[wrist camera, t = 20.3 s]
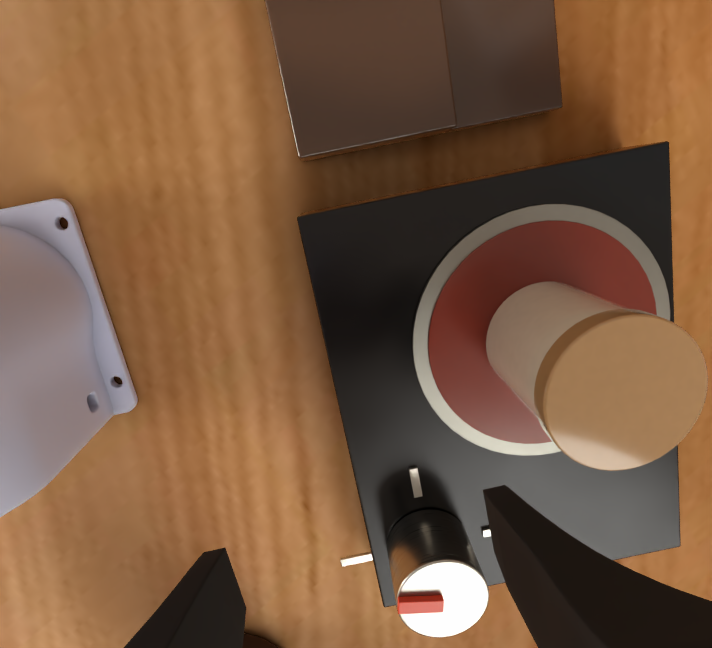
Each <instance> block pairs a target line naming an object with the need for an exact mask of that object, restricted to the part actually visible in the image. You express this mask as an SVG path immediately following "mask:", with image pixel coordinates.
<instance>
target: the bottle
mask: <svg viewBox="0 0 712 648" xmlns="http://www.w3.org/2000/svg"><path fill="white" fill-rule="evenodd" d="M242 648H278V647H277V646H275V645H273V644H272V643H270V642H268V641H266V640H264V639H263V638H261V637H257V636H253V635H249V634H244V637H243V646H242Z"/></svg>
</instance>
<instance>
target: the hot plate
mask: <svg viewBox="0 0 712 648" xmlns="http://www.w3.org/2000/svg"><path fill="white" fill-rule="evenodd" d="M541 204H568V205H575V206H582V207H586V208H589V209H593V210H596V211H599V212H601V213H603V214H606V215H608V216H610V217H612V218H614V219H616V220H617V221H619V222H620V223H622V224H623V225H625V226H626V227H628V228H629V229H630V230H631V231H632V232H634V233H635V234H636V235H637V236H638V237H639V238H640V239H641V240H642V241H643V243H644V244H645V245H646V246H647V247H648V249H649V250H650V251H651V253H652V255H653V256H654V258H655V260H656V261H657V263H658V265H659V267H660V269H661V272H662V274H663V277H664V279H665V283H666V287H667V291H668V295H669V304H670V321H672V322H674V302H673V267H672V232H671V197H670V162H669V142H667V141H666V142H659V143H652V144H645V145H638V146H631V147H624V148H618V149H614V150H609V151H604V152H599V153H594V154H589V155H584V156H579V157H574V158H569V159H564V160H560V161H555V162H550V163H545V164H540V165H535V166H530V167H525V168H520V169H515V170H510V171H506V172H501V173H496V174H491V175H486V176H481V177H476V178H471V179H466V180H461V181H457V182H452V183H447V184H442V185H437V186H432V187H427V188H422V189H417V190H412V191H407V192H403V193H398V194H393V195H388V196H383V197H378V198H373V199H368V200H363V201H358V202H353V203H349V204H344V205H339V206H334V207H329V208H324V209H319V210H314V211H309V212H304V213H301V214H300V215H299V216H298V217H297V221H298V225H299V230H300V234H301V238H302V243H303V247H304V252H305V256H306V261H307V265H308V270H309V274H310V279H311V283H312V288H313V292H314V297H315V301H316V306H317V310H318V315H319V319H320V324H321V328H322V333H323V337H324V342H325V346H326V350H327V355H328V359H329V364H330V368H331V373H332V377H333V382H334V386H335V391H336V395H337V400H338V404H339V409H340V413H341V418H342V422H343V427H344V431H345V436H346V440H347V445H348V449H349V454H350V458H351V462H352V467H353V471H354V476H355V480H356V485H357V489H358V494H359V498H360V503H361V507H362V512H363V516H364V521H365V525H366V530H367V534H368V539H369V543H370V548H371V552H372V553H371V552H366V553H361V554H356V555H351V556H346V557H341V558H340V560H341V564H342V566H347V565H352V564H357V563H362V562H367V561H371V560H373V561H374V566H375V570H376V574H377V579H378V583H379V588H380V592H381V597H382V601H383V606H384V607H389V606H394V605H396V600H395V594H394V588H393V582H392V576H391V570H390V564H389V558H388V552H387V542H388V538H389V535H390V533H391V531H392V529H393V528H394V527H395V525H396V524H397V523H398V522H399V521H400V520H401V519H403V518H404V517H406V516H407V515H409V514H411V513H414V512H417V511H421V510H428V509H432V510H440V511H444V512H446V513H449V514H451V515H452V516H454V517H455V518H456V519H458V520H459V521H460V522H461V524H462V525H463V527H464V528H465V530H466V533H467V535H468V538H469V540H470V543H471V545H472V548H473V550H474V553H475V555H476V558H477V560H478V562H479V565H480V567H481V570H482V572H483V575H484V577H485V580H486V582H487V585H488V586H491V585H496V584H500V583H505V580H504V577H503V575H502V572H501V569H500V567H499V564H498V561H497V559H496V556H495V553H494V549H493V543H492V538H491V533H490V527H489V522H488V516H487V511H486V505H485V500H484V494H483V490H484V489H488V488H493V487H497V486H502V485H506V486H507V487H509V488H510V489H511V490H512V491H514V492H515V493H516V494H517V495H518V496H519V497H521V498H522V499H523V500H524V501H525V502H527V503H528V504H529V505H530V506H532V507H533V508H534V509H535V510H537V511H538V512H539V513H541V514H542V515H543V516H545V517H546V518H547V519H549V520H550V521H551V522H553V523H554V524H555V525H557V526H558V527H560V528H561V529H562V530H564V531H565V532H567V533H568V534H570V535H571V536H573V537H574V538H576V539H577V540H579V541H580V542H582V543H583V544H585V545H587V546H588V547H590V548H591V549H593V550H595V551H596V552H598V553H600V554H602V555H604V556H606V557H608V558H609V559H611V560H617V559H622V558H627V557H631V556H636V555H641V554H646V553H651V552H656V551H660V550H665V549H670V548H675V547H680V512H679V477H678V445H676V446H675V447H674V448H673V449H672V450H670V451H669V452H668V453H666V454H665V455H663V456H662V457H660V458H658V459H656V460H654V461H652V462H650V463H648V464H645V465H642V466H639V467H636V468H632V469H626V470H616V471H608V470H599V469H595V468H590V467H587V466H585V465H582V464H580V463H578V462H576V461H574V460H572V459H571V458H569V457H568V456H567V455H565V454H564V453H563V452H562V451H560V452H556V453H551V454H544V455H530V456H521V455H510V454H504V453H500V452H495V451H491V450H489V449H486V448H483V447H480V446H478V445H476V444H474V443H472V442H470V441H468V440H466V439H464V438H463V437H461V436H460V435H459V434H457V433H456V432H454V431H453V430H452V429H451V428H450V427H449V426H448V425H446V424H445V423H444V422H443V421H442V420H441V419H440V417H439V416H438V415H437V414H436V412H435V411H434V410H433V409H432V407H431V405H430V404H429V402H428V400H427V399H426V397H425V395H424V393H423V391H422V388H421V386H420V384H419V381H418V379H417V375H416V371H415V367H414V362H413V353H412V330H413V324H414V318H415V313H416V310H417V306H418V303H419V300H420V297H421V295H422V292H423V290H424V288H425V286H426V284H427V281H428V280H429V278H430V276H431V275H432V273H433V272H434V270H435V268H436V267H437V265H438V264H439V263H440V261H441V260H442V259H443V258H444V257H445V255H446V254H447V253H448V252H449V251H450V250H451V249H452V248H453V247H454V246H455V245H456V244H457V243H458V242H459V241H460V240H461V239H462V238H463V237H465V236H466V235H467V234H469V233H470V232H471V231H473V230H474V229H475V228H477V227H478V226H480V225H482V224H484V223H485V222H487V221H489V220H490V219H492V218H494V217H497V216H499V215H502V214H504V213H506V212H509V211H512V210H516V209H519V208H523V207H527V206H533V205H541Z"/></svg>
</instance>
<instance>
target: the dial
mask: <svg viewBox="0 0 712 648" xmlns="http://www.w3.org/2000/svg"><path fill="white" fill-rule="evenodd" d="M387 552H388V558H389V564H390V570H391V576H392V582H393V588H394V594H395V600H396V606H397V611H398V614H399V616H400V618H401V619H402V621H403V622H404V623H405V624H406V625H407V626H408V627H409V628H410V629H412V630H413V631H415V632H417V633H419V634H421V635H424V636H428V637H449V636H453V635H456V634H459V633H461V632H464V631H465V630H467V629H469V628H470V627H472V626H473V625H474V624H475V623H476V622H477V621H478V620H479V619H480V618H481V617H482V615H483V614H484V612H485V610H486V607H487V604H488V599H489V590H488V585H487V582H486V580H485V577H484V575H483V572H482V570H481V567H480V565H479V562H478V560H477V558H476V555H475V553H474V550H473V548H472V545H471V543H470V540H469V538H468V535H467V533H466V530H465V528H464V527H463V525H462V524H461V522H460V521H459V520H458V519H456V518H455V517H454V516H452V515H451V514H449V513H446V512H444V511H440V510H432V509H428V510H421V511H417V512H414V513H411V514H409V515H407V516H406V517H404V518H403V519H401V520H400V521H399V522H398V523H397V524H396V525H395V527H394V528H393V529H392V531H391V533H390V535H389V538H388V542H387Z"/></svg>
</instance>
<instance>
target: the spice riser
mask: <svg viewBox="0 0 712 648" xmlns="http://www.w3.org/2000/svg"><path fill="white" fill-rule="evenodd" d="M265 5H266V9H267V14H268V19H269V23H270V28H271V32H272V37H273V42H274V46H275V51H276V56H277V60H278V65H279V70H280V74H281V79H282V83H283V88H284V93H285V97H286V102H287V107H288V111H289V116H290V121H291V125H292V130H293V134H294V139H295V144H296V148H297V153H298V157H299V158H300V159H301V161H303V162H305V161H310V160H315V159H320V158H325V157H330V156H334V155H339V154H344V153H349V152H354V151H359V150H364V149H369V148H374V147H379V146H384V145H388V144H393V143H398V142H403V141H408V140H413V139H418V138H423V137H428V136H433V135H438V134H442V133H444V132H445V133H448V132H453V131H457V130H462V129H467V128H472V127H477V126H482V125H487V124H492V123H497V122H502V121H507V120H512V119H516V118H521V117H526V116H531V115H536V114H541V113H546V112H550V111H553V110H556V109H559V108H561V107H562V95H561V82H560V70H559V57H558V45H557V33H556V20H555V8H554V0H265Z"/></svg>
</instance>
